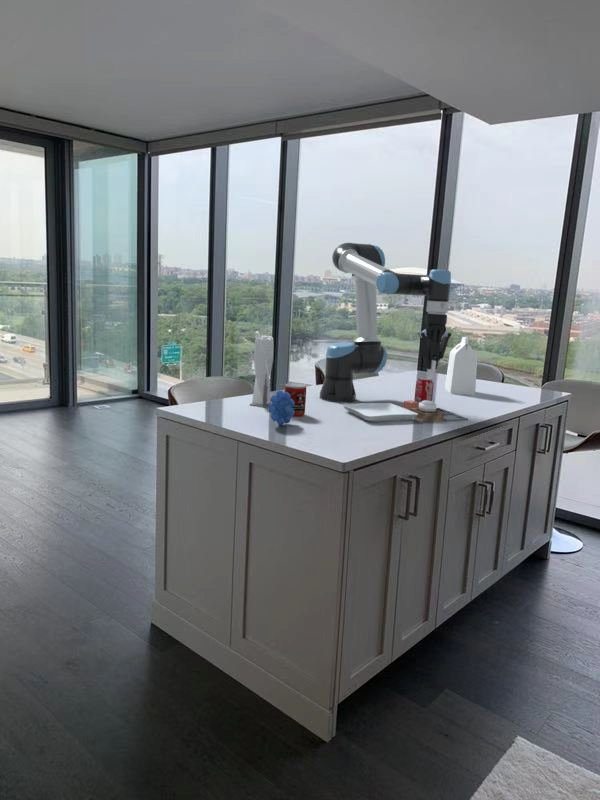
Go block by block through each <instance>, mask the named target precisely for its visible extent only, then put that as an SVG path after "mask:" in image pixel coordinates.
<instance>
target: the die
mask: <svg viewBox="0 0 600 800" xmlns="http://www.w3.org/2000/svg"><path fill="white" fill-rule="evenodd" d="M418 404H419V402H416V401H414V400H403V407H402V408H405V409H408V410H410V408H418Z"/></svg>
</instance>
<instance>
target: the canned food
mask: <svg viewBox="0 0 600 800" xmlns="http://www.w3.org/2000/svg"><path fill="white" fill-rule="evenodd" d="M284 392H288V393H289V394H290V399H292V400H293V401H294V406H293V407H292V408H293V409H294V412H295V413H294V415H293V416H292V417H296V418H297V417H299V418H300V417H303V416H304V415H305V413H306V402H307V401H306V400H307V384H305V383H300V382H287V383H285V386H284Z"/></svg>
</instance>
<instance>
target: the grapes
mask: <svg viewBox="0 0 600 800" xmlns="http://www.w3.org/2000/svg"><path fill="white" fill-rule="evenodd" d="M271 403H273V404H270V405H269V407H268V411H269V413H271V414H270V419H271V420H272V421H274V422H276V423H277V425H278V426H283V425H284V424H289V423H290V422H291V420H292V419H291V417H293V415H294V413H295V412H294V409H293V408H292V407H293V406H294V401H293V400H292V399H290V394H289V393H288V392H285V391H283V390H277V391H276V393H275V394H273V395H271Z"/></svg>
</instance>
